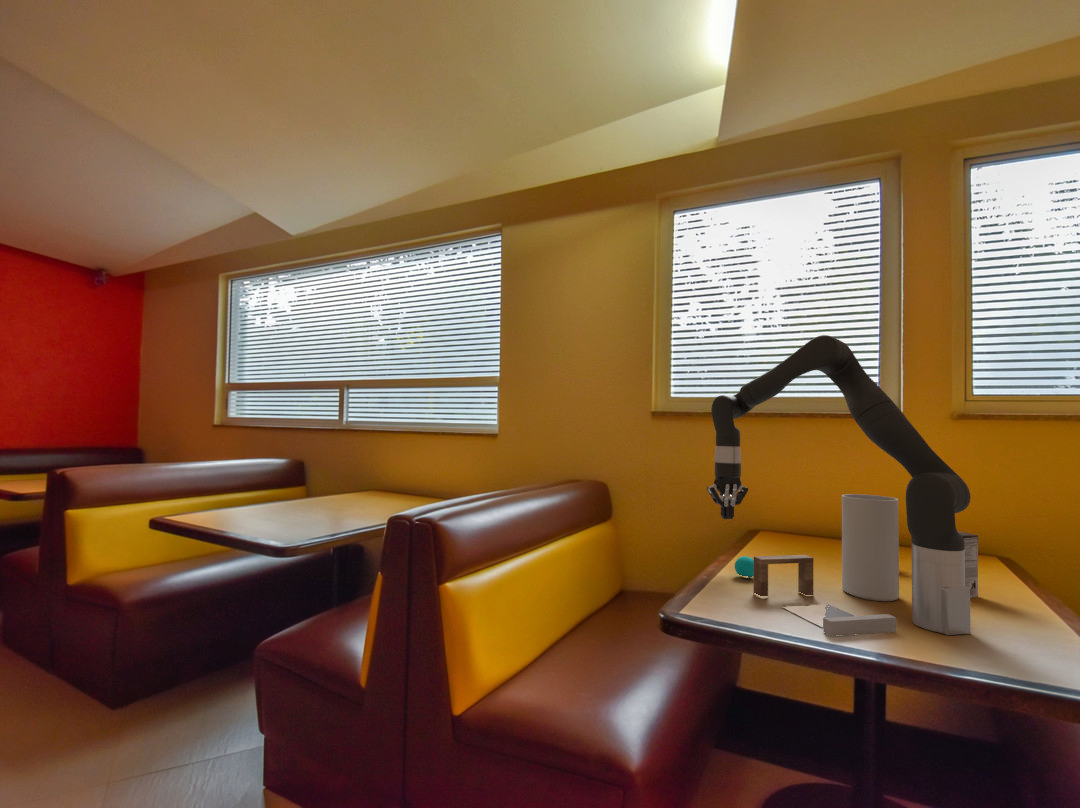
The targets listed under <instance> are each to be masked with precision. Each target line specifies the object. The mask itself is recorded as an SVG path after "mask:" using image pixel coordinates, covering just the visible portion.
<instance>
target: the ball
mask: <svg viewBox="0 0 1080 808" xmlns="http://www.w3.org/2000/svg"><path fill="white" fill-rule="evenodd" d="M734 570H735V573H736V574H737V575H738V574H739V575H742V576H748V577H752V576H753V577H754V558H752V557H750V556H748V555H747V556H744V555H742V556H740V557H738V558H737V559H736V560H735V563H734ZM739 575H738V576H739ZM753 577H752V578H753Z"/></svg>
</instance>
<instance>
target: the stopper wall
mask: <svg viewBox="0 0 1080 808" xmlns="http://www.w3.org/2000/svg"><path fill="white" fill-rule="evenodd" d="M822 629H823V631H822V633H823V632H825V633H826V634H825V633H824V634H825V635H827V634H828V635H827V636H829V635H830V636H829V637H831V636H832V637H837V636H836V635H847V636H856V635H855V634H858V635H857V636H859V634H861V635H872V634H873V635H874V634H884V633H885V634H886V633H897V617H896V616H893V615H892V614H889V613H886V614H885V613H883V614H871V615H870V614H867V615H854V616H849V617H833V618H823V628H822Z"/></svg>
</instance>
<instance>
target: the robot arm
mask: <svg viewBox="0 0 1080 808" xmlns="http://www.w3.org/2000/svg"><path fill="white" fill-rule="evenodd" d="M815 370H817V371H819V372H822V373H823V374H825V375H826V377H828V378H829V379H830V380H831V381H832V382H833V383H834V385H836V387H837V388H838V390H840V392H841V393H842V395H843V397H844V400H845V402H846V405H847V409H848V411H849V413H850V414H851V417H852V418H853V420H854V421H855V423H856V424H857V425H858V427H859V428H860V430H861V431H862V432H863V433H864V435H865V436H866V437H867V438H868V439H869V440H870V441H871V442H872V443H873V444H875V445H876V446H877V447H878V448H880V449H881V450H882V451H883V452H884V453H886V454H887V455H889V456H890V457H892V458H893V459H894V460H896V461H897V463H899V464H901V466H902V467H903V468H904V469H905V470H906V472H907V473H908V474H909V475H910V477H911V479H910V480H909V481H908V483H907V486H906V490H905V510H906V511H905V512H906V524H907V526H906V527H907V529H908V532H909V534H910V537H911V601H912V602H911V605H912V606H911V608H912V609H911V610H912V611H911V612H912V614H911V615H912V618H911V621H912V623H913V624H914V625H916V626H917V627H920V628H923V629H925V630H927V631H932V632H934V633H935V632H936V633H940V634H944V635H947V636H954V635H968V634H972V632H971V631H972V630H971V629H972V628H971V626H972V625H971V623H972V622H971V598H970V588H969V587H966V586H965V550H964V549H965V544H964V538H963V536H962V535H960V534H959V533H958V532H959V531H958V529H957V527H956V514H959V513H961V512H963V511H964V510H966V509H967V508H968V507H969V506H970V503H971V492H970V488H969V486H968V484H967V483H966V482H965V481H964V479H963V478H962V477H961V476H960V475H959V474H958V473H956V472H955V471H954V469H953V468H951V467H950V466H949V464H947V463H946V462H945V460H943V459H942V458H941V457H940V456H939V455H938V454H937V453H936V452H935V451H934V450H933V449H932V447H931V446H929V444H928V443H927V442H926V440H925V439H924V438H923V435H921V434H920V433H919V432H918V430H917V429H916V428H915V426H913V425H912V423H911V422H910V421H909V420H908V418H907V417H906V415H905V414H904V413H903V412H902V411H901V409H900V408H899V407H898V406H897V404H896V403H895V402H894V401H893V400H892V398H890V397H889V395H887V393H886V392H885V391H884V390H883V389H882V388H881V387H880V386H879V385H878V384H877V383H876V382H875V381H874V380H873V379H872V378H871V377H870V376H869V375H868V373H867V371H865V370H864V368H863V367H862V365H861V363H860V362H859V361H858V359H857V357H856V356H855V354H854V352H853V351H852V349H851V348H850V347H849V346H848V344H847V343H845V342H844V341H842V340H841V339H838V338H836V337H834V336H831V335H826V334H822V335H818V336H815V337H814V338H812V339H810V340H808V341H807V342H806V343H805V344H803V345H802V346H801V347H800V348H799V349H797V350H796V351H794V352H793V353H792V354H790V355H789V356H788V357H787V358H786V359H784V360H782V361H781V362H780V363H779V364H777V365H775V367H773V368H771V369H770V370H768V371H766V372H765V373H763V374H761V375H760V376H758V377H756V378H754V379H752V380H750V381H749V382H747V383H745V384H744V385H742V387H741V388H740V389H739V392H738V393H736V394H734V395H726V394H723V395H718V396H717V397H715V398H714V399H713V402H712V405H711V417H712V421H713V426H714V430H715V449H714V476H715V478H714V481H713V484H712V485H710V486H706V490H707V492H708V494H709V495H710V497H711V499H712V500H713V503H714V504H717V505H719V506H720V517H721V518H722V519H723V520H733V518H735V517H734V516H735V507H736V506H737V505H738V506H740V504H741V503H742V501H743V500H744V498H745V497H746V495H747V494H748V492H749V488H748V487H747V486H744V485H743V484H742V480H741V477H742V452H741V451H742V450H741V431H740V429H739V428H738V427H736V426H735V422H734V420H735V419H739V418H740V417H743V416H744V415H746V414H747V413H749V412H750V411H751V410H753V409H754V408H755V407H756V406H759V405H761V404H763V403H764V402H766V401H768V400H770V399H772V398H774V397H775V396H777V395H779V393H781V392H782V391H783V390H784V389H785V388H786V387H787V386H788V385H789V384H791V382H793V381H794V380H795V379H797V378H798V377H801V376H802V375H805V374H807V373H809V372H812V371H813V372H814V371H815ZM717 491H718V492H717ZM957 531H958V532H957Z"/></svg>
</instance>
